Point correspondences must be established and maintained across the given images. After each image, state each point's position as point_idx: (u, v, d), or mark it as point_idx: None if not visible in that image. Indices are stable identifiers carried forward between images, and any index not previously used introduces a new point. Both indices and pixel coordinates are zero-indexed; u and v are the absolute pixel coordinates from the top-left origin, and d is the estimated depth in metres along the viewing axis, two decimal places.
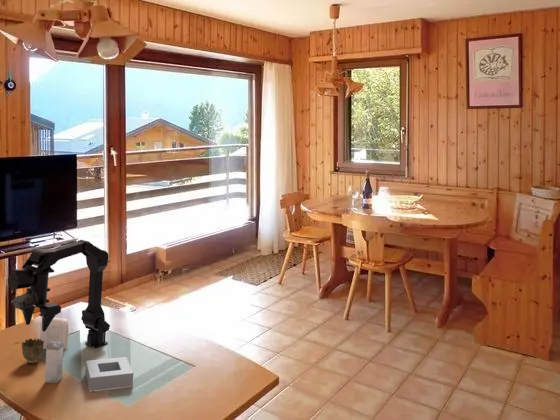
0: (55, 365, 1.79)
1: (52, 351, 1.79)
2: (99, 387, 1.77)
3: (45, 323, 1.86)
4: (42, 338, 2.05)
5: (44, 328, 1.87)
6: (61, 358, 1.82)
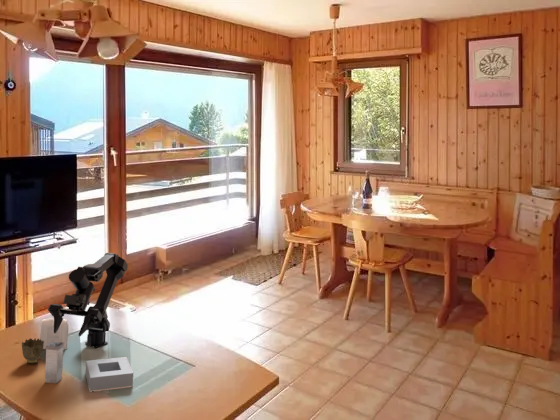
0: (55, 365, 1.79)
1: (52, 351, 1.79)
2: (99, 387, 1.77)
3: (84, 327, 1.90)
4: (42, 338, 2.05)
5: (81, 332, 1.89)
6: (61, 358, 1.82)
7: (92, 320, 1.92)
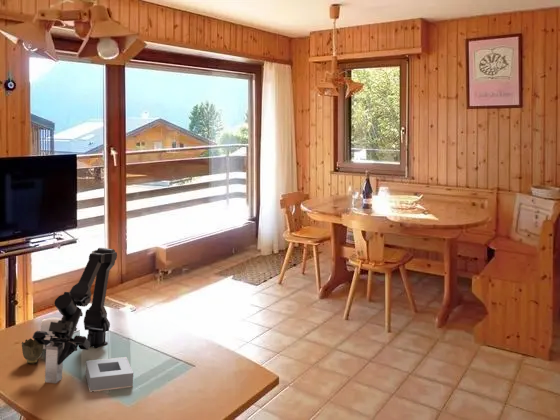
0: (55, 365, 1.79)
1: (52, 351, 1.79)
2: (99, 387, 1.77)
3: (64, 355, 1.81)
4: None
5: (60, 361, 1.80)
6: None
7: (72, 347, 1.83)
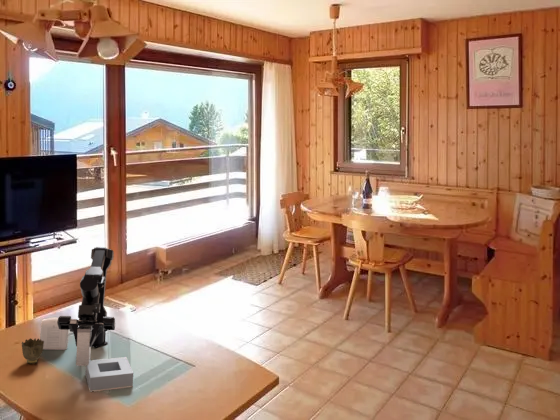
0: (87, 347, 1.79)
1: (84, 333, 1.78)
2: (99, 387, 1.77)
3: (94, 337, 1.82)
4: (42, 338, 2.05)
5: (92, 342, 1.81)
6: None
7: (100, 329, 1.85)
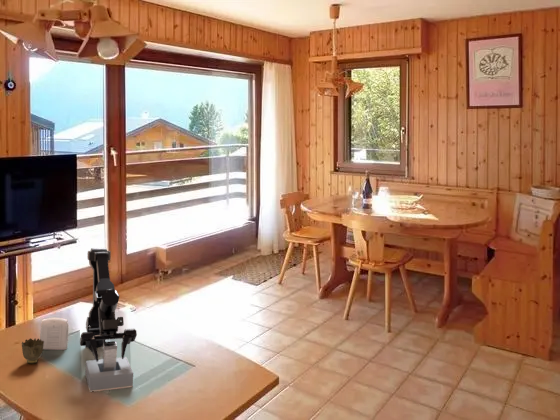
0: (114, 363, 1.83)
1: (111, 350, 1.82)
2: (99, 387, 1.77)
3: (125, 349, 1.87)
4: (42, 338, 2.05)
5: None
6: None
7: (128, 341, 1.90)
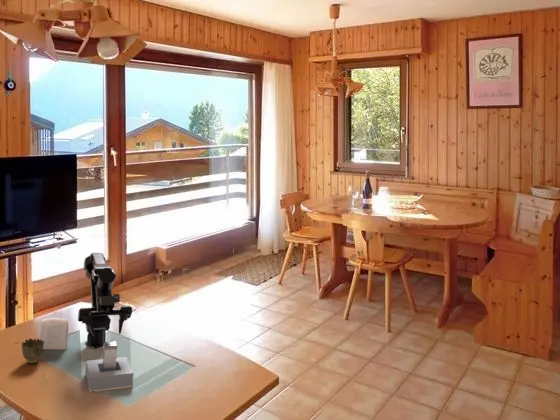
0: (114, 363, 1.83)
1: (111, 350, 1.82)
2: (99, 387, 1.77)
3: (122, 324, 1.95)
4: (42, 338, 2.05)
5: None
6: None
7: (125, 317, 1.98)
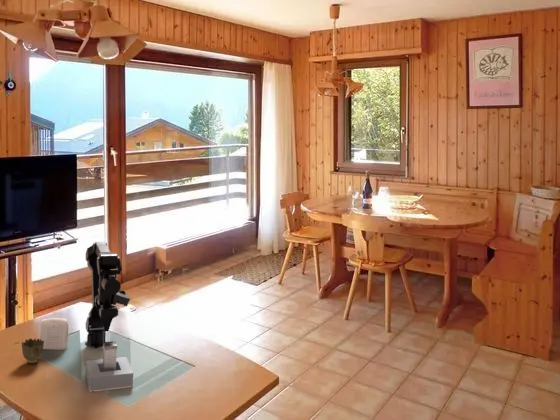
0: (114, 363, 1.83)
1: (111, 350, 1.82)
2: (99, 387, 1.77)
3: None
4: (42, 338, 2.05)
5: None
6: None
7: None
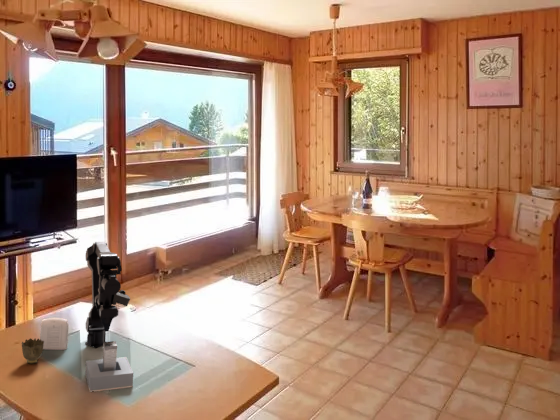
0: (114, 363, 1.83)
1: (111, 350, 1.82)
2: (99, 387, 1.77)
3: None
4: (42, 338, 2.05)
5: None
6: None
7: None
